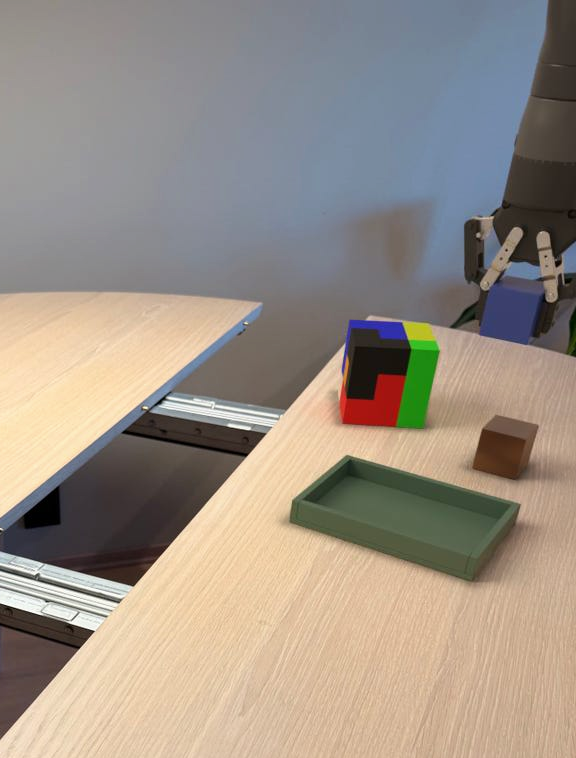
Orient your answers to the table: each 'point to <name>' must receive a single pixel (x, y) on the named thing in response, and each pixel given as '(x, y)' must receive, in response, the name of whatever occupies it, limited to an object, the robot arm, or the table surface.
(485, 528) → the tray
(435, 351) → the puzzle toy
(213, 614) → the table surface
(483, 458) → the brown cube
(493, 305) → the blue cube
